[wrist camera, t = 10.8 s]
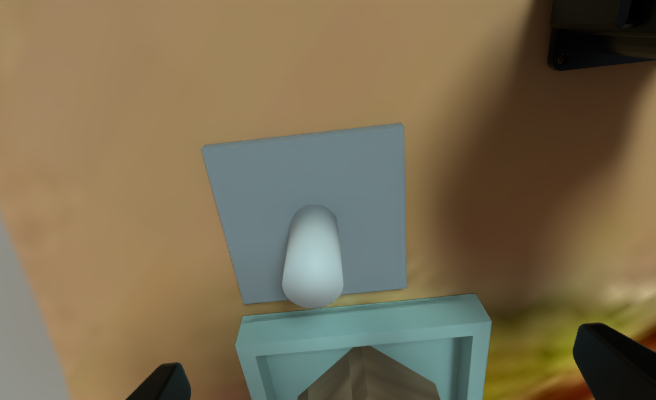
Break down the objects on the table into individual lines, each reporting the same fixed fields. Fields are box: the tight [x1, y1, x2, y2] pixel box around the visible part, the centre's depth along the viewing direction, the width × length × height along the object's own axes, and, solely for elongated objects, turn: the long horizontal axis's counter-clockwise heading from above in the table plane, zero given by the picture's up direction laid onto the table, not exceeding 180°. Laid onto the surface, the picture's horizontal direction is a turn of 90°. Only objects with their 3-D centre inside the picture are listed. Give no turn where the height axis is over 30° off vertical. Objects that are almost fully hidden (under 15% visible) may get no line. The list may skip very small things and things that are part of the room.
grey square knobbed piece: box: [201, 123, 407, 308], centre depth 18 cm, size 10×10×6 cm
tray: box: [235, 293, 492, 400], centre depth 25 cm, size 15×15×2 cm
